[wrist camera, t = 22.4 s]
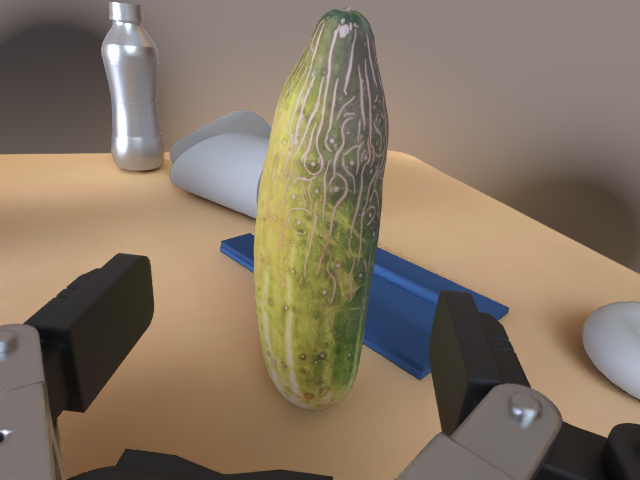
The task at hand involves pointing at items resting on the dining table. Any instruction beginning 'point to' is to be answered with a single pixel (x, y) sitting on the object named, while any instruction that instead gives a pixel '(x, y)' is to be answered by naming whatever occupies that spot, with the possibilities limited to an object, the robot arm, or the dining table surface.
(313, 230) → the vegetable
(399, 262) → the blue rectangular panel
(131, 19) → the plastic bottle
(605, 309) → the donut
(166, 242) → the dining table surface
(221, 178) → the elbow connector
